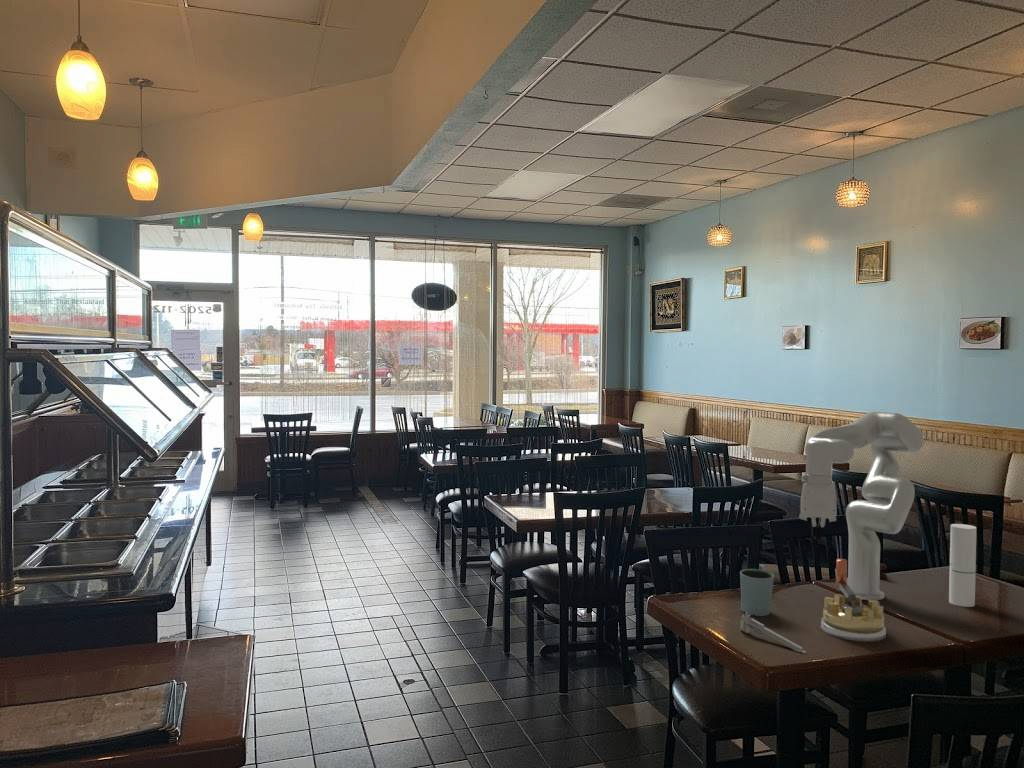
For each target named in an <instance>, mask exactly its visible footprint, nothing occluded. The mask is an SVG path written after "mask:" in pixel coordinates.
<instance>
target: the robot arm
mask: <svg viewBox="0 0 1024 768" xmlns="http://www.w3.org/2000/svg"><path fill="white" fill-rule="evenodd" d="M924 440H925V439H924V434H923V432H922V431H921V429H920V428H919V427H918V426H917V425H916V424H915V423H914V422H913V421H911V420H910V419H909V418H908V417H907V416H905V415H904V414H901V413H898V412H885V411H870V412H867V413H866V414H863V415H862V416H861V417H858V418H857V419H855V420H854V421H852V422H850V423H847V424H844V425H840V426H836V427H831V428H827V429H824V430H820V431H819V432H817V433H815V434H813V435H812V436H811V437H810V438H809V439H808V440H807V442H806V444H805V447H804V452H805V455H806V456H805V473H804V475H800V481H804V483H803V484H802V488H801V494H800V500H799V502H800V505H799V512H800V513H799V516H798V517H799V519H800V520H803V521H806V522H808V523H809V524H810V525H811V537H813V540H816V541H817V540H818V541H821V539H822V538H823V536H824V528H825V526H826V525H827V524H829V523H832V522H837V514H838V513H837V512H838V511H837V509H838V507H837V492H836V488H835V485H834V484H832V483H833V464H846V463H848V462H849V461H851V460H852V458H853V457H854V450H855V449H861V448H865V447H866V446H867V445H870V449H871V450H870V451H871V456H872V463H871V466H870V468H869V470H868V473H867V475H866V478H865V479H864V481H863V484H862V487H861V495H862V497H863V498H864V499H856V500H852V501H850V502H849V503H848V504H847V506H846V508H845V518H846V519H845V520H846V523H847V530H848V557H847V558H848V560H847V585H848V586H849V587H850V589H851V590H852V591H853V592H854V594H855V595H858V596H862V601H863V600H864V601H868V600H876V601H881V600H883V599H885V593H884V592H883V591H882V590H880V578H881V577H880V571H881V570H880V563H881V542H880V539H879V536H878V535H877V533H883V534H888V535H896V534H899V532H900V531H902V529H903V526H904V524H905V523H906V520H907V517H908V515H909V512H910V510H911V508H912V506H913V503H914V499H915V496H916V495H915V494H916V493H915V491H916V490H915V485H914V483H913V482H912V481H911V480H910V479H908V478H905V477H903V476H902V477H901V476H898V475H899V472H900V464H899V462H898V460H897V459H896V457H895V456H894V454H893V452H902V453H917V452H919V451H921V449H922V447H923V446H924ZM816 518H817V519H818V524H817V521H816V520H817V519H816ZM876 532H877V533H876Z"/></svg>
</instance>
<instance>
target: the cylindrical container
mask: <svg viewBox="0 0 1024 768" xmlns="http://www.w3.org/2000/svg"><path fill="white" fill-rule="evenodd" d="M949 530H950V534H949V536H950V537H949V538H950V539H949V541H950V543H949V546H950V547H949V574H948V575H949V579H948V580H949V583H948V584H949V585H948V587H949V588H948V602H949V603H950V605H954V606H957V607H963V608H972V607H975V605H976V603H975V602H976V571H977V569H976V561H977V527H976V526H975V525H970V524H963V523H951V524H950V529H949Z"/></svg>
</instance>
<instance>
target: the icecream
mask: <svg viewBox="0 0 1024 768" xmlns="http://www.w3.org/2000/svg"><path fill="white" fill-rule="evenodd" d="M887 567H888V566H887V565H886V564H885V563H881V562H880V578H881V579H883V580H886V579H888V575H887V574H886V573H885V572H883V571H886V570H887Z"/></svg>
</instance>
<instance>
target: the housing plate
mask: <svg viewBox="0 0 1024 768" xmlns="http://www.w3.org/2000/svg"><path fill="white" fill-rule="evenodd" d="M820 620H821V621H820V628H821V630H822V631H823V632H825V633H826V634H828V635H830V636H833V637H836V638H839V639H842V640H848V641H851V642H852V641H853V642H861V643H862V642H864V643H866V642H867V643H872V642H873V643H874V642H879V641H883V640H884V639H886V636H887V628H886V626H885V625H884V629H883V630H882V631H879V632H874V633H858V632H850V631H845V630H841V629H837V628H834V627H832V626H830V625H828V624H826V623H825V622H824V621H823V617H821V619H820Z"/></svg>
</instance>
